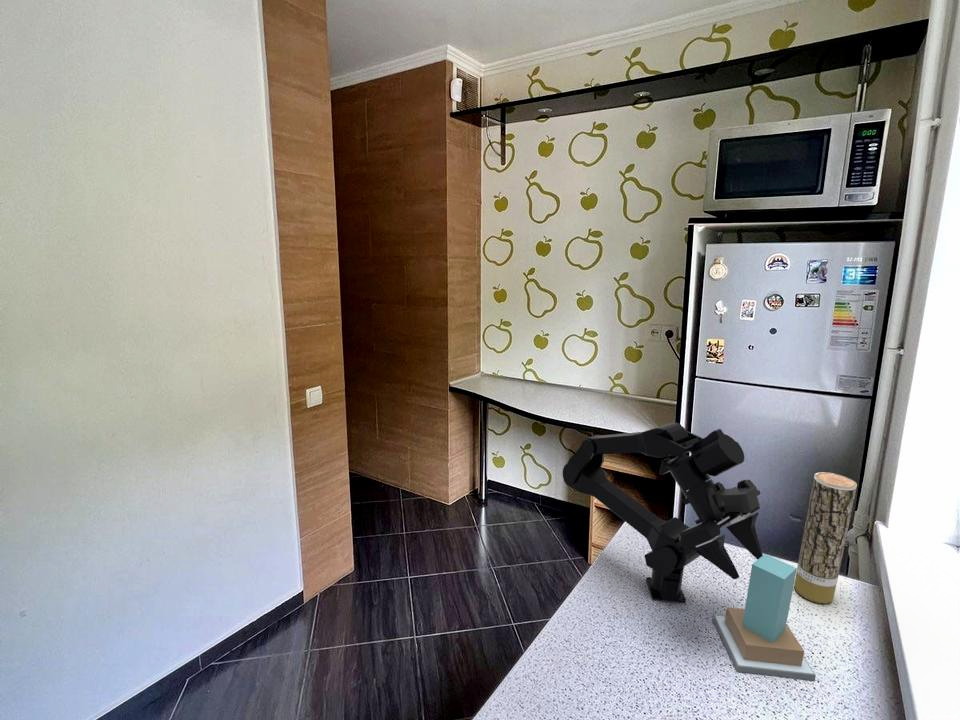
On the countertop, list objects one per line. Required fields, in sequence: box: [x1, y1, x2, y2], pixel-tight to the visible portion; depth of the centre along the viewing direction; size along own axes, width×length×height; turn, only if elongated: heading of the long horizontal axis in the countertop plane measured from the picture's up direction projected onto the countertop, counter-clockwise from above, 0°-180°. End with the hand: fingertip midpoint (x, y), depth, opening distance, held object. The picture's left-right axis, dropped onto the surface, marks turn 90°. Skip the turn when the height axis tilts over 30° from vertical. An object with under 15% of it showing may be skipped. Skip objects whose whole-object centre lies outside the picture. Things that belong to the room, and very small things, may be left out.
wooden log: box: [793, 471, 858, 604], centre depth 100 cm, size 7×7×25 cm
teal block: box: [742, 553, 797, 643], centre depth 86 cm, size 5×5×12 cm
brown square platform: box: [712, 607, 817, 682], centre depth 88 cm, size 12×12×4 cm
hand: (749, 568), depth 88 cm, fingers open, 9 cm apart
